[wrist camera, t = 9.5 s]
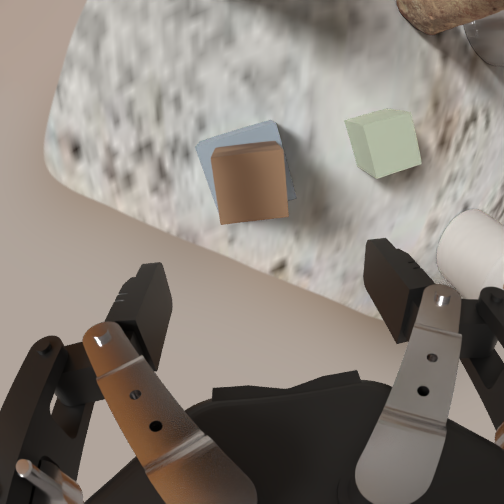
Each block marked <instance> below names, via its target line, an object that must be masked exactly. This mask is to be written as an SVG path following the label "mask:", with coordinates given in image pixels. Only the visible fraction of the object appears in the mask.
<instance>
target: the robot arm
mask: <svg viewBox="0 0 504 504" xmlns="http://www.w3.org/2000/svg"><path fill="white" fill-rule="evenodd" d="M464 28H465V32H466V34H467V37H468V39H469V41H470V43H471V45H472V47H473V48H474V50H475V51H476V53H477V54H478V55H479V56H480V57H481V58H482V59H483V60H484V61H485V62H487V63H489V64H491V65H494V66H504V10H502V11H500V12H498V13H495V14H492V15H490V16H487V17H485V18H482V19H478V20H475V21H472V22H470V23H467V24H464ZM363 277H364V285H365V288H366V290H367V292H368V294H369V295H370V297H371V299H372V300H373V302H374V304H375V306H376V307H377V309H378V311H379V313H380V314H381V316H382V318H383V320H384V322H385V323H386V325H387V327H388V329H389V331H390V332H391V334H392V336H393V338H394V340H395V341H396V343H397V344H399V343H403V342H407V341H408V342H409V343H408V346H407V349H406V352H405V355H404V358H403V360H402V363H401V366H400V369H399V371H398V374H397V377H396V379H395V382H394V385H393V387H391V386H389V385H386V384H383V383H379V382H375V381H368V380H360V377H359V374H358V371H357V370H355V371H349V372H344V373H339V374H333V375H327V376H322V377H319V378H317V379H314V380H311V381H309V382H306V383H303V384H301V385H298V386H295V387H292V388H288V389H279V388H269V387H259V386H249V385H248V386H235V387H220V388H213V392H212V399H208V400H206V401H203V402H200V403H198V404H196V405H193V406H192V407H190V408H188V409H187V410H185V411H184V410H183V408H182V407H181V406H180V405H179V404H178V402H177V401H176V400H175V398H174V397H173V396H172V395H171V393H170V392H169V391H168V389H167V388H166V387H165V386H164V384H163V383H162V382H161V380H160V379H159V378H158V376H157V375H156V373H155V372H154V371H157V370H158V366H159V361H160V357H161V352H162V348H163V344H164V340H165V336H166V332H167V328H168V324H169V320H170V316H171V313H172V297H171V293H170V290H169V286H168V282H167V279H166V275H165V272H164V268H163V265H162V263H160V262H158V263H148V264H142V265H141V268H140V269H139V271H138V273H137V275H136V277H132V278H130V279H129V280H128V281H127V282H126V283H125V284H124V285H123V286H122V288H121V290H120V292H119V295H118V296H117V297H116V299H115V302H114V303H113V305H112V307H111V309H110V311H109V313H108V315H107V318H106V319H105V322H101V323H99V324H96V325H94V326H92V327H91V328H90V329H89V330H87V332H86V333H85V335H84V336H83V340H82V342H79V343H75V344H72V345H67V346H64V344H63V343H62V341H61V339H60V338H59V337H57V336H47V337H44V338H42V339H40V340H39V341H37V342H36V343H35V344H34V345H33V346H32V347H31V349H30V351H29V352H28V354H27V356H26V358H25V360H24V362H23V364H22V366H21V368H20V370H19V372H18V374H17V376H16V378H15V380H14V382H13V384H12V386H11V388H10V391H9V393H8V395H7V397H6V399H5V401H4V404H3V406H2V408H1V411H0V504H504V363H503V361H502V360H501V358H500V356H499V355H498V353H497V352H496V351H495V349H494V347H495V345H496V343H497V341H499V342H500V343H501V345H502V346H503V348H504V290H502V289H500V288H497V287H485V288H483V289H482V290H481V292H480V295H479V298H478V299H461V296H460V294H459V293H458V292H457V291H456V290H455V289H453V288H451V287H449V286H446V285H442V284H435V283H434V282H433V281H432V279H431V278H430V277H429V276H428V275H427V274H426V273H425V272H424V270H423V269H422V268H420V266H419V265H418V264H417V263H415V260H414V259H413V258H412V257H411V256H410V255H409V254H408V253H406V252H404V251H402V250H400V249H396V248H395V247H394V246H393V245H392V244H391V243H390V242H389V241H388V239H386V238H381V239H372V240H368V241H367V243H366V251H365V263H364V275H363ZM459 358H460V360H461V362H462V364H463V366H464V367H465V369H466V371H467V373H468V375H469V377H470V378H471V380H472V382H473V384H474V386H475V388H476V390H477V392H478V394H479V395H480V398H481V399H482V402H483V403H484V406H485V408H486V410H487V412H488V414H489V416H490V418H491V420H492V423H493V425H494V427H495V429H496V433H495V443H493V442H491V441H489V440H487V439H485V438H483V437H481V436H479V435H478V434H476V433H474V432H472V431H470V430H468V429H467V428H465V427H463V426H461V425H459V424H457V423H456V422H454V421H452V420H450V419H448V414H449V410H450V405H451V401H452V396H453V391H454V386H455V380H456V375H457V369H458V362H459ZM54 393H55V395H56V396H57V400H56V403H55V406H54V409H53V412H52V414H50V403H51V400H52V398H53V395H54ZM103 399H105V400H106V402H107V404H108V406H109V408H110V410H111V412H112V414H113V415H114V418H115V419H116V421H117V423H118V425H119V427H120V429H121V430H122V432H123V434H124V436H125V438H126V439H127V441H128V443H129V444H130V446H131V448H132V450H133V451H134V453H135V455H136V457H135V458H133V459H132V460H131V461H130V462H129V463H128V464H127V465H126V466H125V467H124V468H123V469H121V470H120V471H119V472H118V473H117V474H116V475H115V476H114V477H113V478H112V479H111V480H109V481H108V482H107V483H106V484H105V485H104V486H103V487H101V488H100V489H99V490H98V491H97V492H96V493H94V494H93V495H92V496H91V497H90V498H89V499H88V500H87V501H86V502H85V503H84V501H83V494H82V490H81V488H80V486H79V485H78V483H77V482H76V480H77V475H78V470H79V465H80V460H81V456H82V451H83V446H84V442H85V438H86V434H87V430H88V426H89V422H90V418H91V414H92V410H93V406H94V403H95V401H99V400H103Z"/></svg>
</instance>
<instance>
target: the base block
mask: <svg viewBox="0 0 504 504" xmlns="http://www.w3.org/2000/svg"><path fill="white" fill-rule="evenodd" d="M266 141H276V142H277V143H278V144H279V145H280V147H281V148H282V149H283V146H282V142H281V139H280V135H279V132H278V128H277V125H276V122H274V121H272V120H268V121H265V122H261V123H258V124H254V125H251V126H247V127H244V128H241V129H237V130H234V131H231V132H228V133H224V134H221V135H218V136H215V137H212V138H209V139H206V140H203V141H200V142H199V143H198V144H197V146H196V147H195V148H196V151H197V154H198V157H199V159H200V162H201V165H202V168H203V171H204V174H205V176H206V179H207V182H208V185H209V188H210V190H211V193H212V196H213V199H214V201H215V204H216V207H217V210H218V204H217V198H216V191H215V185H214V178H213V172H212V165H211V156H212V154H213V152H214V149H215V148H216V147H224V146H231V145H239V144H248V143H257V142H266ZM283 151H284V149H283ZM284 163H285V175H286V187H287V200H288V201H289V200H292V199H296V194H295V190H294V186H293V182H292V179H291V175H290V171H289V167H288V164H287V160H286V156H285V153H284ZM218 212H219V211H218Z"/></svg>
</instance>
